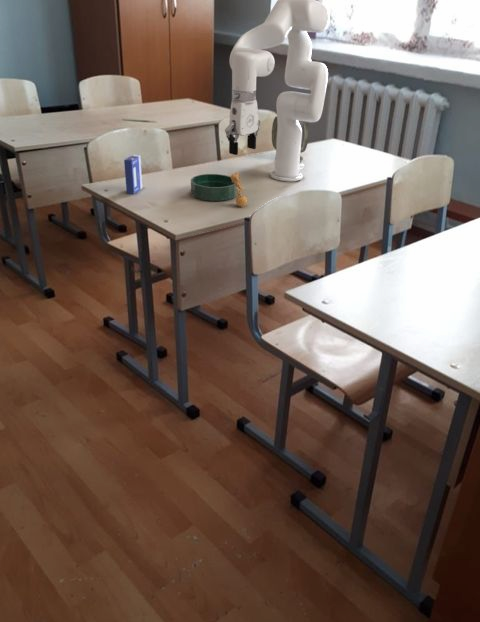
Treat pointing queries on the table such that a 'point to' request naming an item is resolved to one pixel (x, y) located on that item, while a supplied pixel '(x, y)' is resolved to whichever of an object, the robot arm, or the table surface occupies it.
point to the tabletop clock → (304, 134)
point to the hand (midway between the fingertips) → (242, 151)
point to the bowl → (213, 187)
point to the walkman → (133, 174)
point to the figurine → (240, 199)
